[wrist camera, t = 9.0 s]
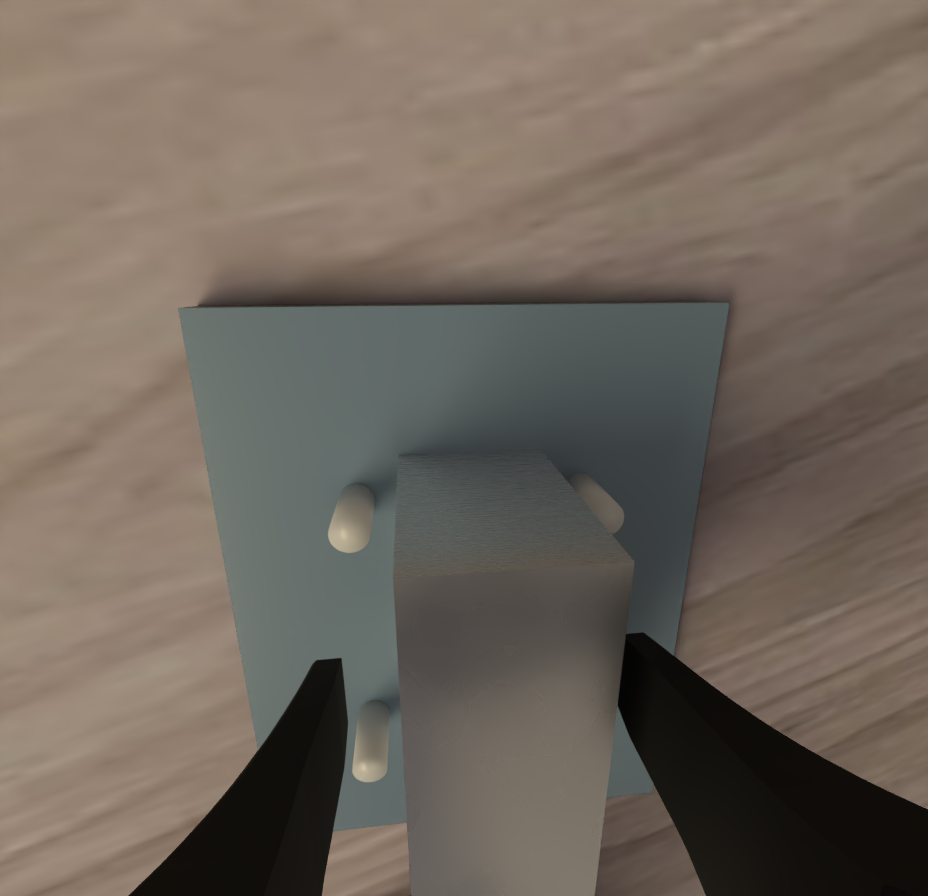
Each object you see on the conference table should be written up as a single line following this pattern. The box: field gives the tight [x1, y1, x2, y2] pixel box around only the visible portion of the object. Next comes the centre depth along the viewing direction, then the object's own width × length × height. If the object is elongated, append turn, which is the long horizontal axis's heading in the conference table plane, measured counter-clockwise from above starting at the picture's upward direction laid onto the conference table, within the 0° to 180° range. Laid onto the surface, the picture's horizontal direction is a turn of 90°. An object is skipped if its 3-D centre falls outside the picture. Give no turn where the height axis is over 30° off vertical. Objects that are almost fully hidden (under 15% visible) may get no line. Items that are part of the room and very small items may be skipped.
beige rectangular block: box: [393, 449, 635, 896], centre depth 12 cm, size 10×4×6 cm, turn 0°
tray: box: [178, 302, 729, 831], centre depth 15 cm, size 18×14×3 cm
